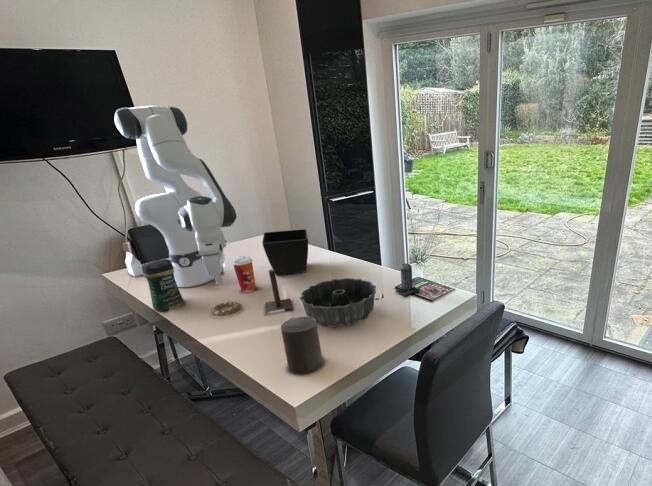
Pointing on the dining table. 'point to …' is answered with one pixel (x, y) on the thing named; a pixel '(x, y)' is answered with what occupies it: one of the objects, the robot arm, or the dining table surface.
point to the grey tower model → (406, 281)
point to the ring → (226, 312)
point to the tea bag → (133, 265)
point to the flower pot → (286, 251)
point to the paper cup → (244, 272)
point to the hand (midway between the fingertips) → (220, 279)
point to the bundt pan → (339, 301)
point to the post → (277, 297)
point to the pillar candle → (302, 344)
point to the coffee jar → (162, 284)
